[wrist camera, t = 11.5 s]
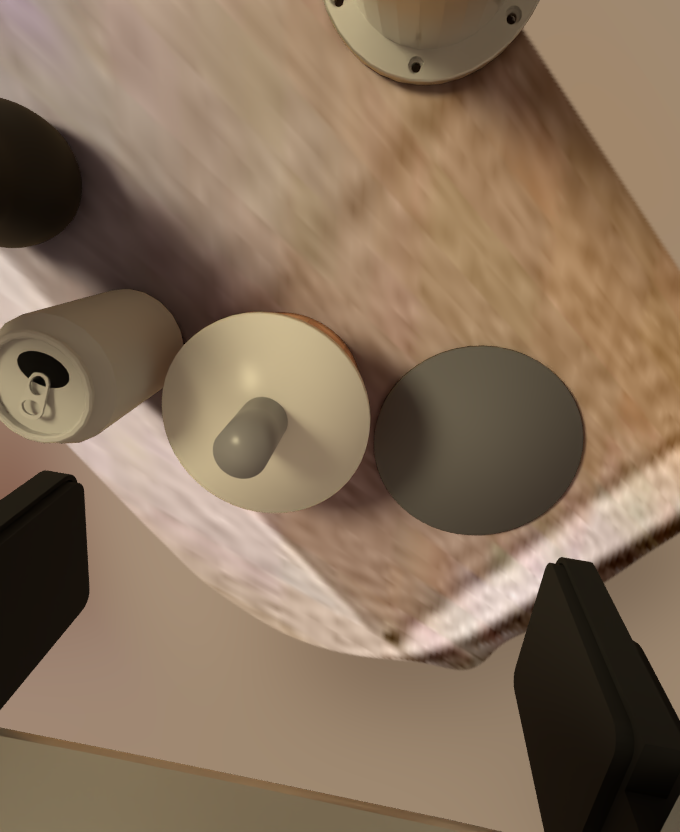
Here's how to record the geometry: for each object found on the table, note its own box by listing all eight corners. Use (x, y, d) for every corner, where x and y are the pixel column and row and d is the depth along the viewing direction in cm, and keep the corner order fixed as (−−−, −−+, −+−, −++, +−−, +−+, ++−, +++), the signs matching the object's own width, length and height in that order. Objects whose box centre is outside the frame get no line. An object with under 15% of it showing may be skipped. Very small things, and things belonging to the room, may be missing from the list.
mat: (390, 331, 38) (389, 332, 37) (607, 362, 37) (609, 364, 36) (362, 515, 43) (361, 517, 42) (552, 546, 42) (553, 549, 41)
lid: (167, 297, 33) (119, 314, 28) (384, 328, 32) (379, 352, 27) (166, 489, 38) (125, 536, 32) (356, 521, 37) (346, 575, 31)
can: (200, 310, 39) (114, 351, 28) (174, 404, 42) (86, 476, 30) (99, 270, 39) (-28, 295, 28) (80, 367, 41) (-43, 425, 30)
